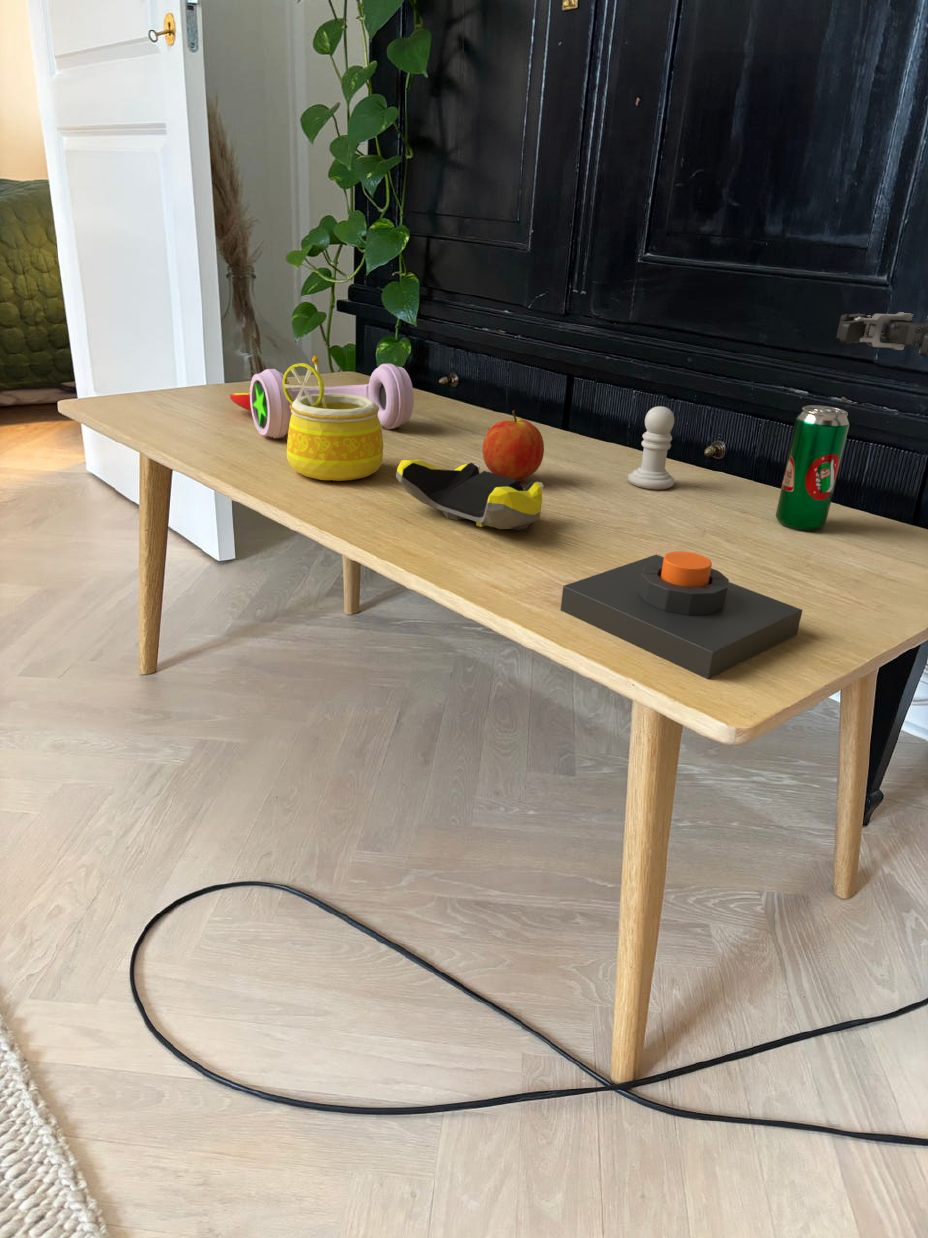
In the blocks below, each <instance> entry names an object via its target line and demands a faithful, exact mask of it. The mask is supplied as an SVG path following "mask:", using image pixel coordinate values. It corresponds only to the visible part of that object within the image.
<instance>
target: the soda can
mask: <svg viewBox="0 0 928 1238" xmlns="http://www.w3.org/2000/svg"><path fill="white" fill-rule="evenodd" d="M848 414H849V413H848V412H847V411H846V410H844V409H841V408H838V407H833V406H827V405H826V406H825V405H816V404H815V405H814V404H813V405H812V404H811V405H804V406H802V407H801V411H800V412H799V414H798V415H797V416H796V417H795V420H794V421H795V422H794V426H793V431H792V436H791V440H790V445H789V449H788V454H787V459H786V463H785V469H784V473H783V479H782V483H781V487H780V492H779V497H778V501H777V505H776V506H777V507H776V510H775V511H776V512H775V517H776V520H777V521H778V523H779V524H780V525H782V526H784V527H785V528H789V529H792V530H795V531H796V530H797V531H802V532H803V531H805V532H814V531H819V530H820V529H822V528H823V527H824V526H825V525H826V524H827V521H828V518H829V513H830V508H831V504H832V500H833V495H834V491H835V487H836V483H837V478H838V476H839V475H838V474H839V470H840V467H841V462H842V459H843V454H844V449H845V445H846V441H847V436H848V432H849V428H850V423H849V420H848Z"/></svg>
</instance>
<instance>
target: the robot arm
mask: <svg viewBox="0 0 928 1238" xmlns="http://www.w3.org/2000/svg"><path fill="white" fill-rule="evenodd" d="M913 315H914V314H911V313H904V312H901V311H898V312H897V313H874V314H873V315H872V316H871V315H865V314H860V313H851V314H848V313H847V314H846V313H844V314H841V315H840V319H839V324H838V328H837V332H836V339H839V343H840V344H846V345H848V344H853V343H855V344H857V343H866V345H867V346H870V347H873V348H887V349H888V348H890V349H892V350H895V351H896V350H903V349H904V347H905V345H910V346H917V347H920V349H919V353H920V355H922V356H928V316H927V319H926V323H924V324H923V323H915V322H913V321H912V319H913V318H912V317H913ZM871 317H872V318H871ZM883 325H885V326H886V328H885V332H884V333H881V331H882V327H883ZM868 331H869V332H868ZM867 334H868V335H867ZM881 339H883V340H881Z"/></svg>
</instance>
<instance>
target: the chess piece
mask: <svg viewBox="0 0 928 1238" xmlns="http://www.w3.org/2000/svg"><path fill="white" fill-rule="evenodd" d="M674 425H675V415H674V412H673V411H672V410H671V409H670V408H668V407H666V406H660V405H659V406H654V407H652V408H650V409H649V410H648V412H647V413H646V415H645V418H644V426H645V430H646V431H645V432H644V433H643V434H642V438H643V440H642V441H641V446H642V447H643V450H642V451H643V452H642V458H641V465H640V466H639V467H637V468H635V469H634V470H633V471H631V472H629V473H628V474H627V475H628V476H627V481H628V482H629V484H631V485H632V486H635V487H637V488H641V489H645V490H646V489H647V490H654V491H655V490H656V491H657V490H658V491H660V490H666V489H670V488H671V487H673V486H674V484H675V479H674V477H673V476H672V475H671V474H670V473H669V471H667V469H666V461H667V455H668V450H670V449H671V447H672V444H671V442H672V440H673V436H672V435H671V433H670V432H671V431H672V430H673V428H674Z"/></svg>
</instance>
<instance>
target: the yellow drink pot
mask: <svg viewBox="0 0 928 1238" xmlns="http://www.w3.org/2000/svg"><path fill="white" fill-rule="evenodd" d="M311 361H312V363H313V365H314V367H313V366H311V365H309V364H307V363H303V362H300V363H295V364H293V365H291V366H289V367H288V368H287V370H286V371H284V373H283V375H284V377H283V382H282V384H283V390H284V394H285V396H286V398H287V399H288V400H289V401H290V403H291V405H290V409H291V412H292V415H291V418H290V423H289V431H288V434H287V442H286V459H287V461H288V464H289V466H290V468H292V469H293V471H295V472H296V473H298V474H300V475H302V476H305V477H307V478H311V479H314V480H319V481H331V480H332V482H333V481H334V482H335V481H336V482H342V481H353V480H358V479H363V478H366V477H369V476H370V475H373V474H374V473H376V472H378V470H379V469H380V468H381V465H382V463H383V461H384V460H383V459H384V439H383V430H382V429H383V428H382V426H381V424H380V421H379V419H378V412H379V407H378V405H376V403H375V402H373V401H372V400H370V399H368V398H366V397H362V396H357V395H350V394H338V393H324V387H325V385H324V381H323V378H322V376H321V373H320V368H319V363H320V359H319V357H318V356H317V355H313V356H312V359H311ZM297 367H302V368H306V369H307V371H306V374H305V376H304V380H303V381H302V379H301V377H300V375H299V371H298V370H297ZM290 372H291V373H292V375H293V376H294V378H295V379H296V381H297V382H298V383H299V384H293V383H289V384H288V383H287V380H288V377H289V374H290ZM311 374H314V376H315V378H316V379H317V382H318V385H307V382H308V380H309V379H310V377H311ZM287 388H291V389H295V388H301V389H302V391H301V390H300V392H301V393H300V392H299V394H298V395H297V397H296V399H295V401H294V400H293V399H292V398H291V396H290V395H289V393H288V389H287ZM304 388H305V389H306V388H310V389H316V390H319V391H320V394H311V395H310V394H309V393H308V391H307V390H306V391H307V393H306V392H305V391H304V392H305V394H306V396H303V397H301V395H302V392H303V390H304ZM307 394H308V395H307Z"/></svg>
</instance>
